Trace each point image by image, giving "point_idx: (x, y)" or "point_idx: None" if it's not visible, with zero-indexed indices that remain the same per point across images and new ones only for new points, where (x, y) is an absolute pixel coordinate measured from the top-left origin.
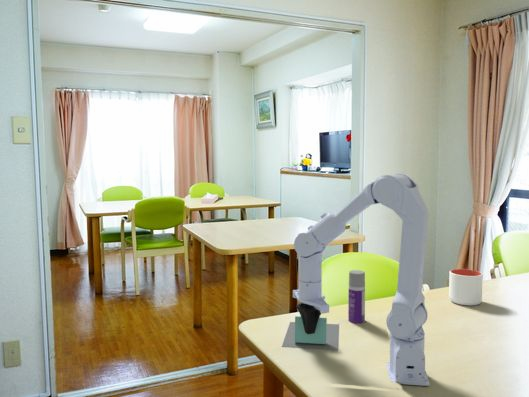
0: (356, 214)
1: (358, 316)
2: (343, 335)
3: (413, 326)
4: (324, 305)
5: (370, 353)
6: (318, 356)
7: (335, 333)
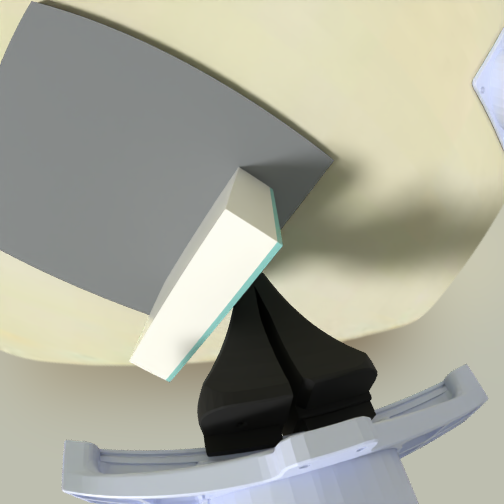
0: None
1: None
2: (153, 17)
3: None
4: (471, 414)
5: (397, 48)
6: (314, 242)
7: (135, 58)
